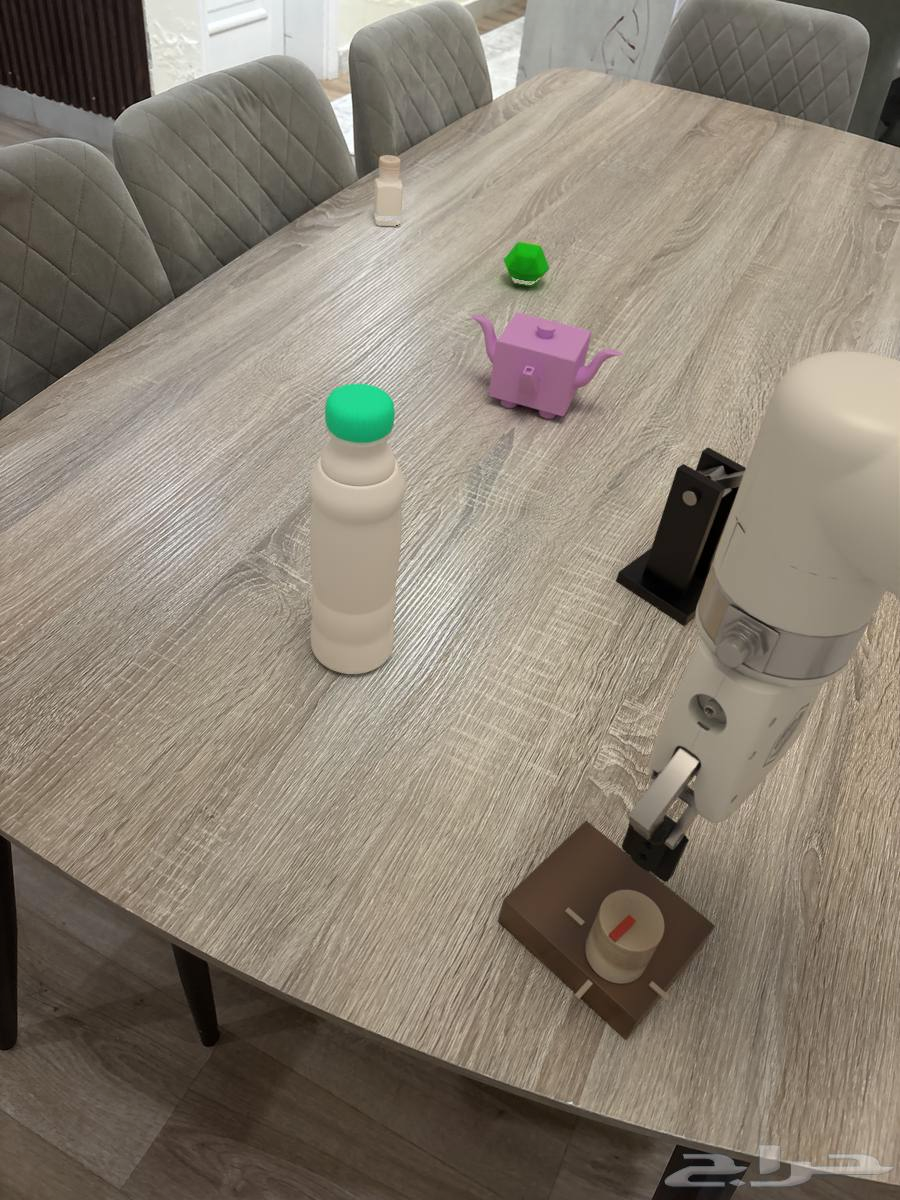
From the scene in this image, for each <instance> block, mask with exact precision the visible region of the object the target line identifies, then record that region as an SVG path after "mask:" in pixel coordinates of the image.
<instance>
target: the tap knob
mask: <svg viewBox="0 0 900 1200" xmlns="http://www.w3.org/2000/svg"><path fill="white" fill-rule="evenodd" d="M663 934H664V919H663V916H662V913H661V911H660V910H659V908H658V906H657V905H656V904H655V903H654V902H653V901H652V900H651V899H650V898H649V897H647V896H645V895H644V894H642V893H639V892H637V891H633V890H619V891H616V892H613V893H611V894H610V895H608V896H607V897H606V898H605V899H604V901H603V902H602V904H601V906H600V909H599V911H598V914H597V916H596V918H595V921H594V923H593V926H592V928H591V930H590V933H589V935H588V938H587V940H586V945H585V952H586V957H587V960H588V962H589V964H590V966H591V967H592V969H593V970H594V971H595V972H596V973H597V974H598V975H599V976H601V977H602V978H604V979H605V980H607V981H610V982H613V983H618V984H624V983H630V982H632V981H635V980H636V979H638V978H639V977H640V976H641V975H642V974H643V972H644V970H645V969H646V967H647V965H648V963H649V961H650V959H651V957H652V956H653V954H654V952H655V950H656V948H657V946H658V944H659V943H660V941H661V939H662V937H663Z"/></svg>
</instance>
